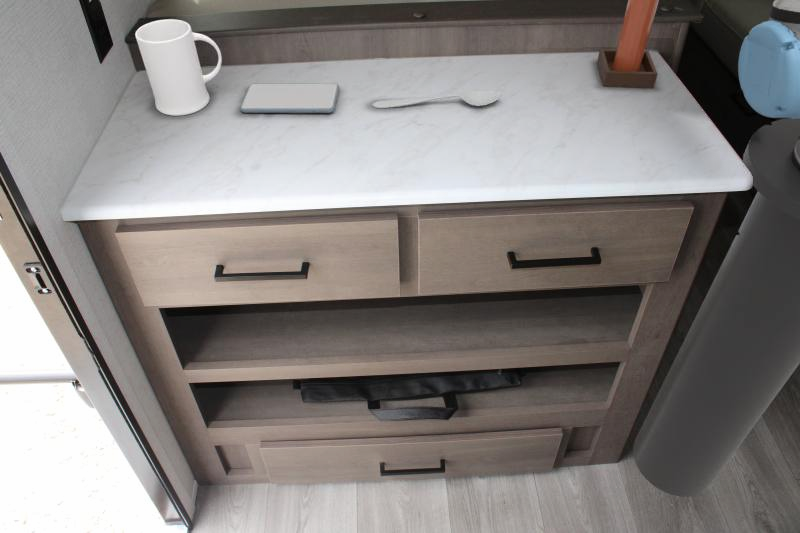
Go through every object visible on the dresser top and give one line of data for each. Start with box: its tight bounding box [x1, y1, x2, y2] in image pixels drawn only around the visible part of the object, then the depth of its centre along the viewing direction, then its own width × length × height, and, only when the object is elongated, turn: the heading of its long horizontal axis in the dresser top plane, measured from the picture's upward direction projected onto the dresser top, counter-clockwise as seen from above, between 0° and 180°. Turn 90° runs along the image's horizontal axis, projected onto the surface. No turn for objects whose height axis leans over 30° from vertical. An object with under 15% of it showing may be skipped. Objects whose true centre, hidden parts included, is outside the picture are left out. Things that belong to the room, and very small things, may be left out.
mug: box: [134, 18, 223, 117], centre depth 99 cm, size 12×8×12 cm
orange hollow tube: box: [612, 0, 660, 72], centre depth 102 cm, size 4×4×14 cm
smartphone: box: [239, 82, 340, 114], centre depth 102 cm, size 8×1×15 cm
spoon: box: [372, 90, 502, 109], centre depth 101 cm, size 4×21×2 cm, turn 92°
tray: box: [596, 48, 658, 89], centre depth 107 cm, size 8×8×3 cm
